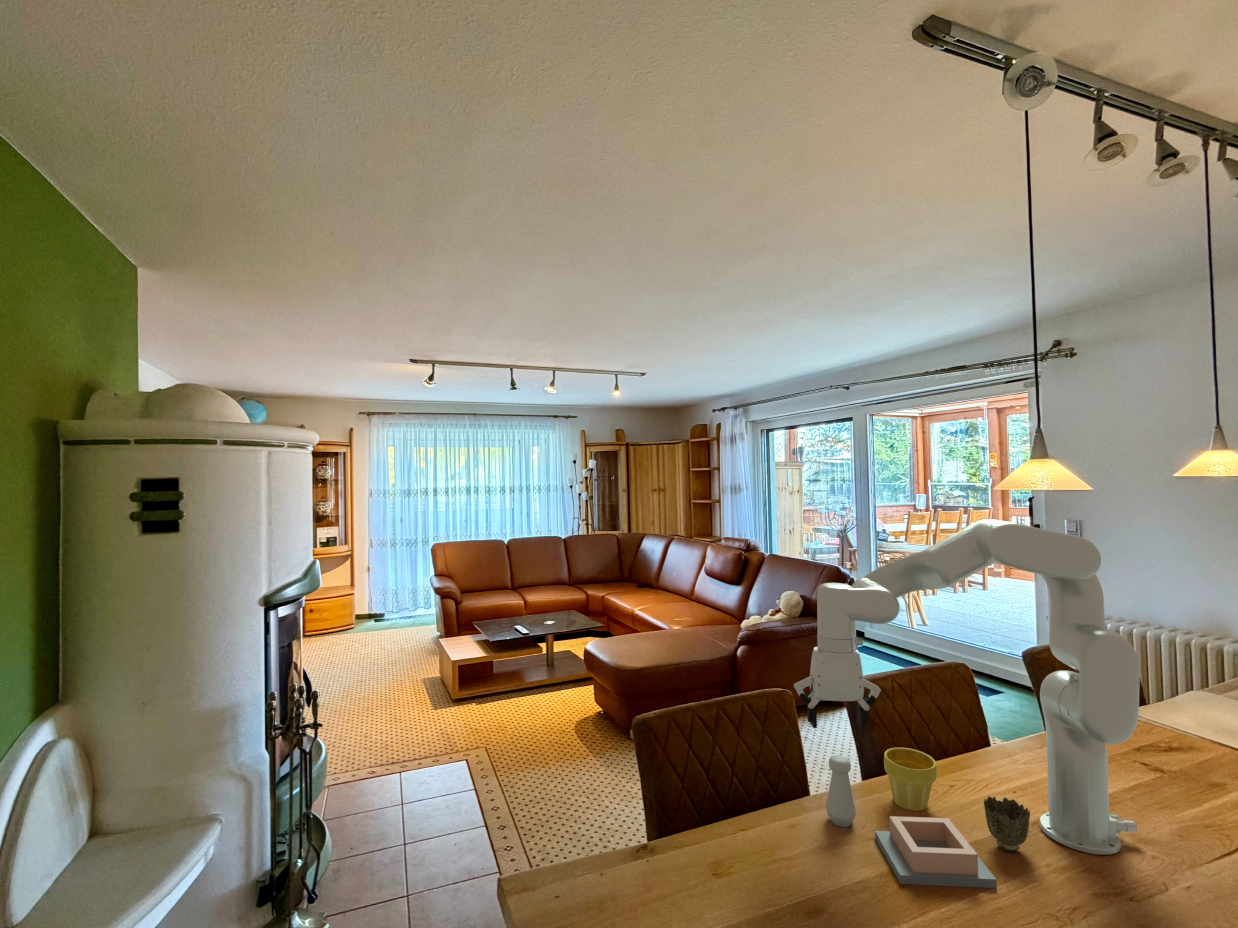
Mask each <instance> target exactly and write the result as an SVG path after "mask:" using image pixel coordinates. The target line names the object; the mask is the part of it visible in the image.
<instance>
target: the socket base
mask: <svg viewBox="0 0 1238 928" xmlns="http://www.w3.org/2000/svg"><path fill="white" fill-rule="evenodd" d="M874 839H875V841H876V843H877V844H878V846H879V848H880V850H881V851H882V853H883V856H884V857H885V859H886V860H887V862H888V865H889V866H890V868H891V869H892V871H893V873H894V875H895V876H896V879H897V880H898V882H899V884H900V885H917V886H919V885H920V886H938V887H939V886H944V887H961V888H962V887H965V888H984V889H985V888H986V889H988V888H989V889H997V887H998V885H997V878H996V877H995V875H993V873H992V872H991V871H990V870H989V868H988V867H987V866H986V865H985V863H984V862H983V861H982V860H981V858H980V857H979V856H978V855H979V854H978V853H977V852H976V850H975V849H974V848H973V847H972V845H971V844H970V843H969V841H968V840H966V838H965V837H964V836H963V834H962V833H961V832H960V831H959V829H958V828H957V827H956V826H955V825H954V824H953V822H952V821H951V819H950V818H948V817H947V818H945V817H921V816H919V817H918V816H894V815H893V816H892V815H890V816H889V831H887V830H875V831H874Z"/></svg>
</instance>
